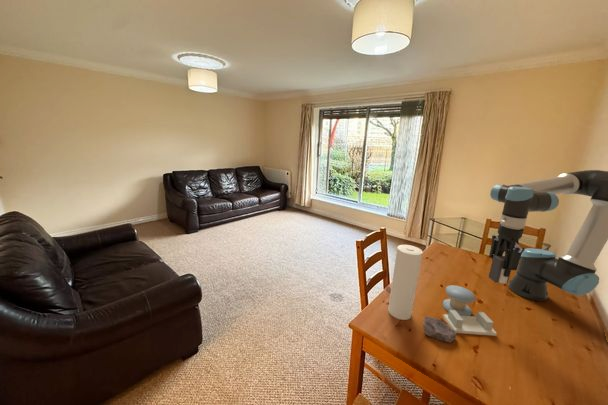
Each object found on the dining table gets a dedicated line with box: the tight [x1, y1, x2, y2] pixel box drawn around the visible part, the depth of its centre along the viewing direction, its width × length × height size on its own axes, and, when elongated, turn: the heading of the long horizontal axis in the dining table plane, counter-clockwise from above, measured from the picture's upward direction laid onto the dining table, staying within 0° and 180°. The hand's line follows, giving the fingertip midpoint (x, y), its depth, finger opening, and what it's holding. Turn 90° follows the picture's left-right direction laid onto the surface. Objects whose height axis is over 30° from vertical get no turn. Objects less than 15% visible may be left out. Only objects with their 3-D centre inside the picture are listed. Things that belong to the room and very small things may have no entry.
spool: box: [442, 284, 476, 316], centre depth 110 cm, size 11×11×8 cm
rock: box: [422, 316, 457, 343], centre depth 95 cm, size 8×11×4 cm
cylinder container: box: [387, 244, 424, 321], centre depth 103 cm, size 9×9×30 cm
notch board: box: [442, 310, 497, 337], centre depth 100 cm, size 16×9×5 cm, turn 87°
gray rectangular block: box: [488, 255, 510, 284], centre depth 101 cm, size 5×4×10 cm
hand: (497, 279), depth 102 cm, fingers closed on gray rectangular block, 4 cm apart
